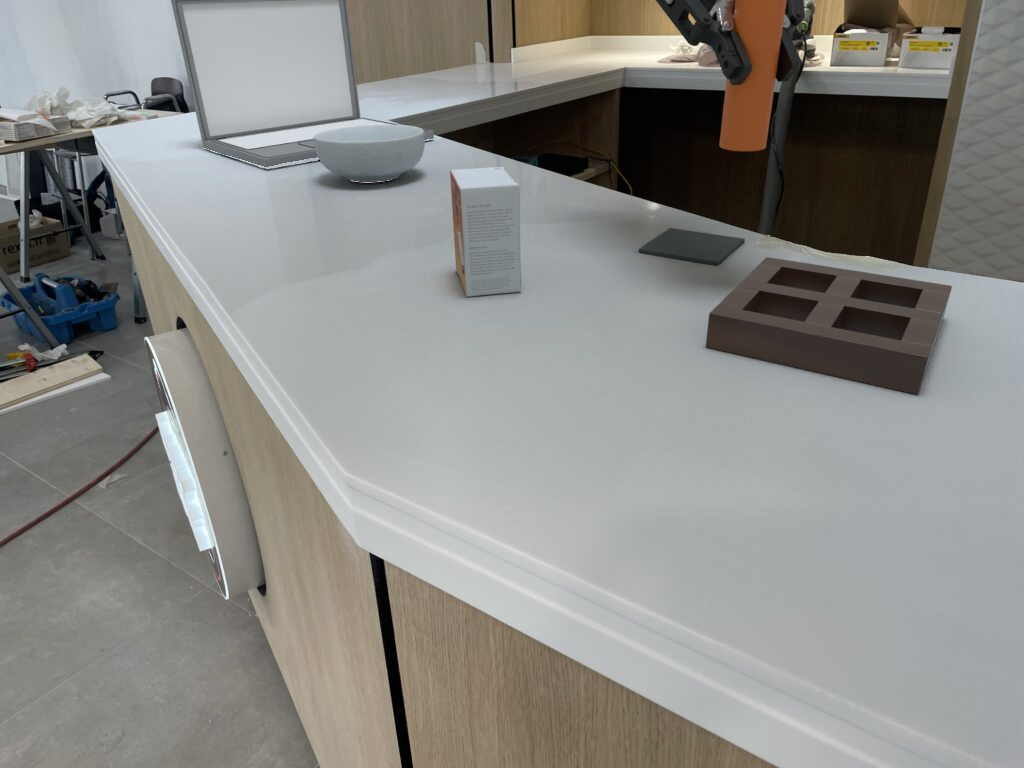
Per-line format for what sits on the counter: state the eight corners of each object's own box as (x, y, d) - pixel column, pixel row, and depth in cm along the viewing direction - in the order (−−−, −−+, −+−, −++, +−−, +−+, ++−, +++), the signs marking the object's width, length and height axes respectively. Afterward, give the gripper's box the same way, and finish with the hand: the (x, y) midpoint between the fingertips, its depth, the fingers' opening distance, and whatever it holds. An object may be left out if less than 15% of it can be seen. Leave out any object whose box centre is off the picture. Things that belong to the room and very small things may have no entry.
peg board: (762, 286, 71) (766, 256, 69) (943, 318, 63) (952, 285, 62) (705, 347, 59) (709, 313, 58) (918, 395, 52) (928, 357, 50)
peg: (727, 141, 67) (744, -6, 62) (771, 144, 66) (793, -7, 60) (712, 149, 65) (729, -5, 59) (758, 153, 63) (779, -6, 57)
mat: (669, 231, 87) (670, 227, 87) (744, 242, 83) (745, 238, 83) (638, 252, 81) (638, 248, 80) (717, 265, 76) (718, 261, 76)
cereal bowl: (447, 171, 119) (444, 125, 115) (386, 195, 106) (380, 145, 102) (364, 163, 126) (358, 120, 122) (297, 185, 113) (289, 137, 109)
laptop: (266, 170, 123) (234, -5, 110) (203, 149, 141) (169, -3, 128) (434, 140, 143) (422, -11, 130) (359, 125, 161) (343, -9, 148)
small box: (455, 270, 77) (448, 168, 72) (507, 265, 78) (504, 165, 73) (465, 298, 70) (458, 187, 65) (522, 292, 71) (519, 183, 66)
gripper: (645, -126, 59) (715, 48, 55) (790, -123, 63) (865, 39, 59) (612, -48, 66) (672, 112, 62) (745, -49, 70) (809, 100, 66)
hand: (766, 75), depth 61 cm, fingers closed on peg, 4 cm apart
